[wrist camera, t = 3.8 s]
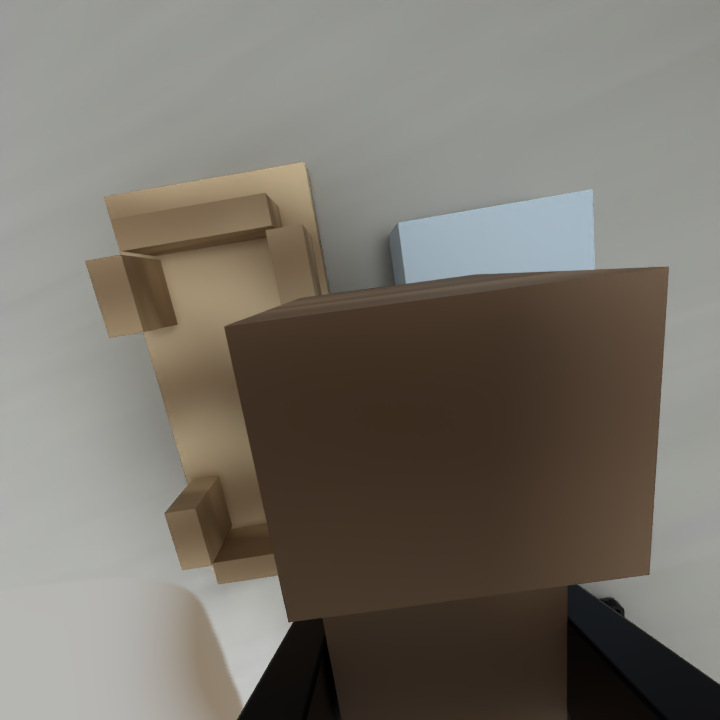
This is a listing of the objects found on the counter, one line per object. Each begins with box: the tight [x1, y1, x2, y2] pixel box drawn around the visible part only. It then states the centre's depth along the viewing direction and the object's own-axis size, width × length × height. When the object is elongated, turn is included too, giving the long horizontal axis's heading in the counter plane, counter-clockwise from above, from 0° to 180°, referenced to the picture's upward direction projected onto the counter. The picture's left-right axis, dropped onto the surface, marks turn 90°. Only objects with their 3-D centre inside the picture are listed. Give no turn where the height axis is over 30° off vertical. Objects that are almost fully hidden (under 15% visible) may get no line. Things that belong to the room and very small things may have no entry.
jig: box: [85, 162, 330, 584], centre depth 17 cm, size 20×9×4 cm, turn 9°
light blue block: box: [389, 189, 595, 285], centre depth 16 cm, size 4×8×4 cm, turn 99°
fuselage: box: [224, 267, 669, 720], centre depth 7 cm, size 13×4×5 cm, turn 8°
